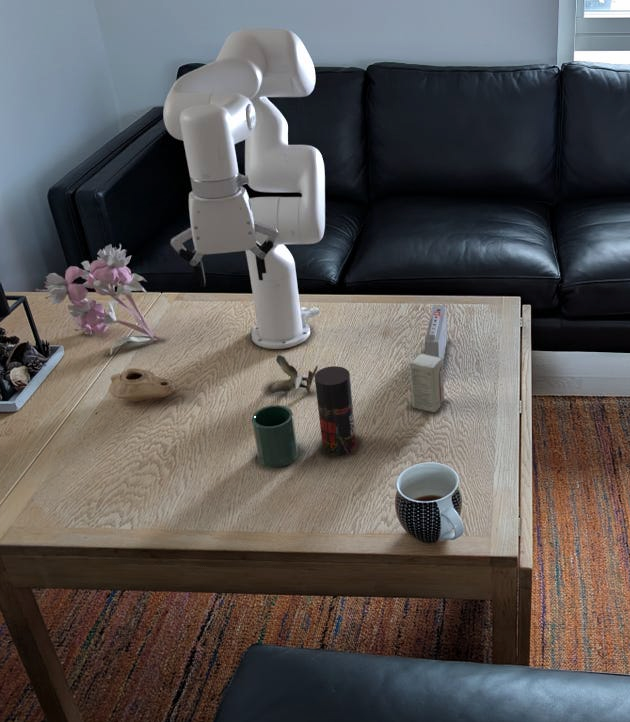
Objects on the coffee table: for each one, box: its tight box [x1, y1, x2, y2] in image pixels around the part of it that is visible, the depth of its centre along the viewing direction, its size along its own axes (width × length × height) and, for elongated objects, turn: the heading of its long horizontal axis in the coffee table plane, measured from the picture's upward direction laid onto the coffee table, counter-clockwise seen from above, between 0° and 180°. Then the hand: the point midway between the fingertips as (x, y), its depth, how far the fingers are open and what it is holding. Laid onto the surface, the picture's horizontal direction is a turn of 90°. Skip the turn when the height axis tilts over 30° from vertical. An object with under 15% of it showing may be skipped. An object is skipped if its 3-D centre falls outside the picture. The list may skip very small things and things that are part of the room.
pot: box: [251, 404, 299, 469], centre depth 145 cm, size 7×7×8 cm
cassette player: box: [424, 304, 448, 359], centre depth 172 cm, size 16×3×10 cm, turn 176°
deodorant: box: [314, 365, 357, 457], centre depth 146 cm, size 6×6×15 cm
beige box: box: [409, 352, 445, 413], centre depth 158 cm, size 5×4×10 cm
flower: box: [35, 243, 161, 355], centre depth 177 cm, size 20×22×25 cm
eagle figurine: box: [267, 354, 319, 395], centre depth 163 cm, size 8×7×9 cm
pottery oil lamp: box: [108, 368, 176, 403], centre depth 160 cm, size 9×12×7 cm
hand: (232, 280), depth 143 cm, fingers open, 9 cm apart
